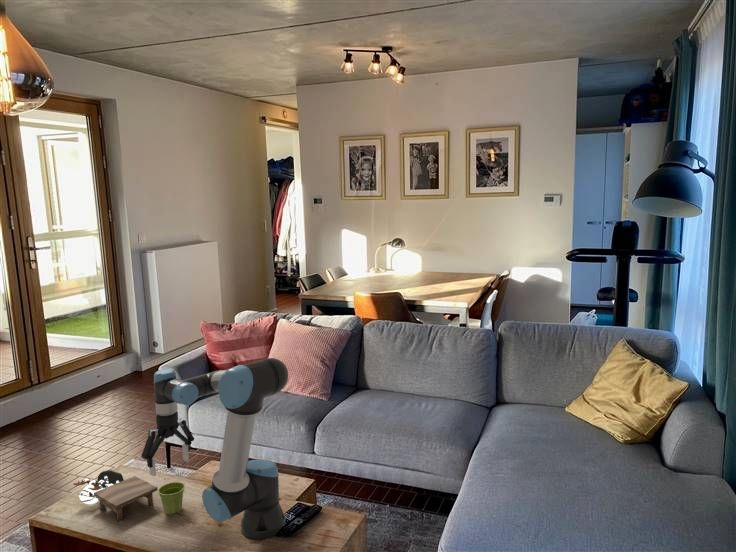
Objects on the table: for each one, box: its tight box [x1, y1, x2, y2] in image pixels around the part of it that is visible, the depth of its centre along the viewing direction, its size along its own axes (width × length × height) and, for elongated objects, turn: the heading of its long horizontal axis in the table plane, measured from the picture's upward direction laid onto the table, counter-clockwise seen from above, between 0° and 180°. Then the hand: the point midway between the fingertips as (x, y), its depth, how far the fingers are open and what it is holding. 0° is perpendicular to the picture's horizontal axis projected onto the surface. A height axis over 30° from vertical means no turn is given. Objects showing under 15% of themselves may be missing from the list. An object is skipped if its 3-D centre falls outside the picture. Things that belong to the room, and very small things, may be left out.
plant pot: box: [157, 481, 186, 515], centre depth 198 cm, size 9×9×9 cm
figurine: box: [73, 469, 124, 505], centre depth 209 cm, size 14×10×18 cm
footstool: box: [94, 475, 158, 522], centre depth 200 cm, size 16×16×7 cm
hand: (169, 467), depth 197 cm, fingers open, 13 cm apart
